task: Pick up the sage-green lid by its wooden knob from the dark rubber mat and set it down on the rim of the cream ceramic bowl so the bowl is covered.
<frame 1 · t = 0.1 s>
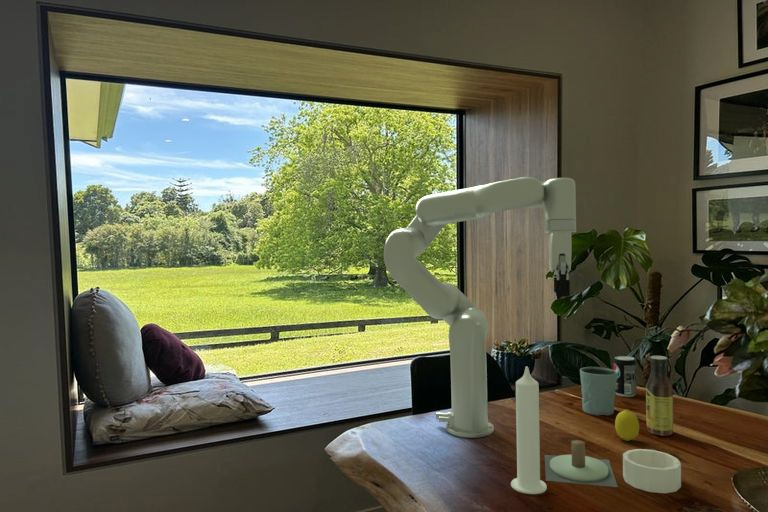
hand: (561, 294, 137), 37 cm above the table, tool pointing down, fingers open, 9 cm apart
mat: (578, 471, 118), on the table
sauce bottle: (659, 433, 140), on the table
lid: (578, 469, 118), resting on mat
lemon: (627, 442, 134), on the table
bowl: (651, 482, 112), on the table
beverage can: (625, 395, 174), on the table
candle: (528, 488, 111), on the table
blue-green cup: (598, 411, 159), on the table
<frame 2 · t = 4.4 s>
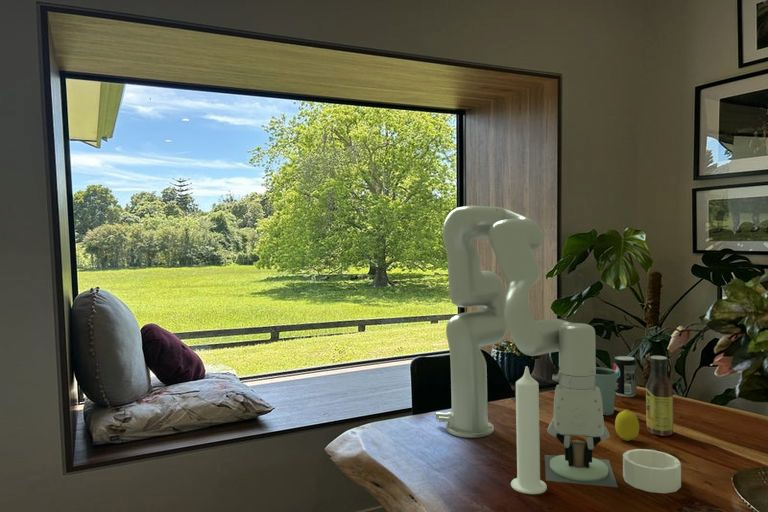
hand: (578, 463, 118), 2 cm above the table, tool pointing down, fingers closed on lid, 2 cm apart
lid: (578, 469, 118), resting on mat, touching gripper
everything else where it was.
when the fingers open (8 cm above the table, at t = 8.6 s): lid drops 1 cm, resting on bowl.
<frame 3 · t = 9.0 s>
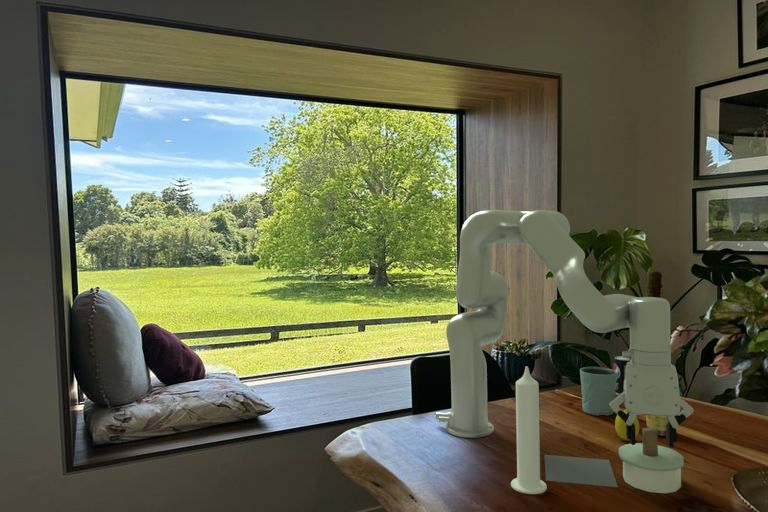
hand: (650, 443, 111), 8 cm above the table, tool pointing down, fingers open, 6 cm apart
lid: (650, 458, 111), point 5 cm above the table, touching bowl
everything else where it was.
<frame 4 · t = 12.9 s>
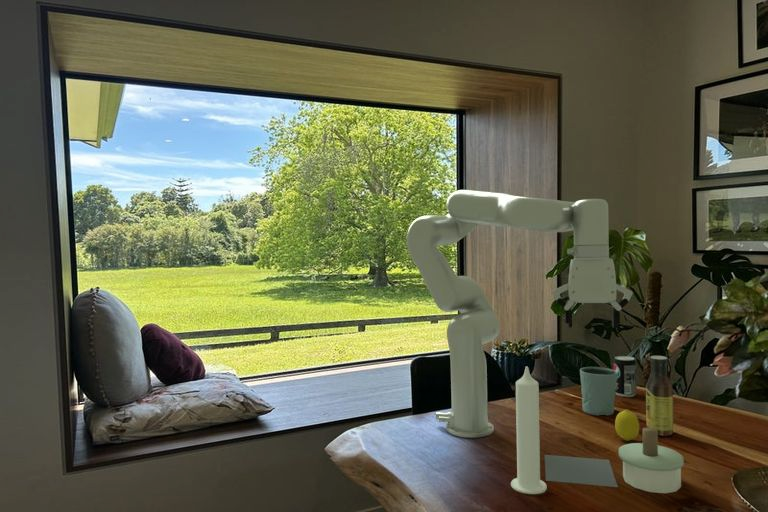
hand: (592, 327, 125), 30 cm above the table, tool pointing down, fingers open, 9 cm apart
nothing on the table moved.
at the end: lid 0.1 cm off-centre on the bowl, point 5.0 cm above the bowl's base; lid tilted 0°; the gripper is holding nothing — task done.
